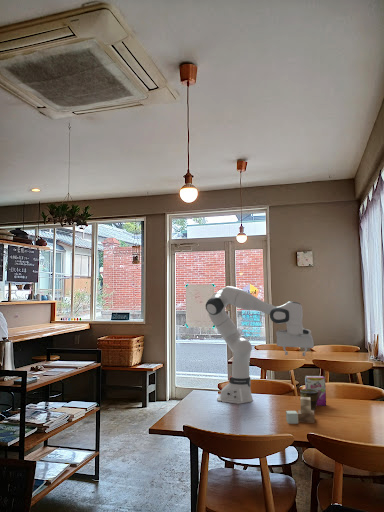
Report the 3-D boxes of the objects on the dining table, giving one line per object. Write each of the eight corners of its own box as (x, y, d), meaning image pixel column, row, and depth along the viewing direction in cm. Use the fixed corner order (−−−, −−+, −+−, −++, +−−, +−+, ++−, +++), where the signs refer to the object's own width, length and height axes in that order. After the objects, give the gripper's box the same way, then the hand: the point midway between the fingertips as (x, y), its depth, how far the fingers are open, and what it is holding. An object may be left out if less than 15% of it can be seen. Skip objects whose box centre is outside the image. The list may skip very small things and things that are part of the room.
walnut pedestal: (298, 421, 197) (297, 413, 197) (298, 417, 204) (298, 409, 205) (314, 423, 194) (314, 414, 195) (314, 418, 202) (314, 410, 202)
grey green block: (288, 423, 194) (287, 413, 195) (286, 420, 199) (285, 410, 200) (298, 423, 194) (297, 413, 195) (296, 420, 199) (295, 410, 200)
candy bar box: (307, 405, 226) (306, 377, 228) (305, 403, 231) (304, 375, 233) (326, 406, 225) (325, 377, 227) (324, 403, 230) (323, 375, 232)
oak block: (300, 413, 198) (300, 399, 199) (301, 410, 203) (300, 396, 204) (311, 413, 197) (310, 399, 198) (311, 411, 202) (310, 397, 202)
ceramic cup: (304, 405, 227) (303, 388, 228) (321, 408, 221) (320, 390, 223) (296, 410, 217) (295, 392, 218) (314, 413, 211) (313, 394, 212)
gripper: (275, 329, 215) (275, 355, 214) (313, 331, 210) (314, 357, 208) (276, 329, 221) (276, 353, 220) (313, 330, 216) (313, 355, 214)
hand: (295, 355), depth 214 cm, fingers open, 8 cm apart
